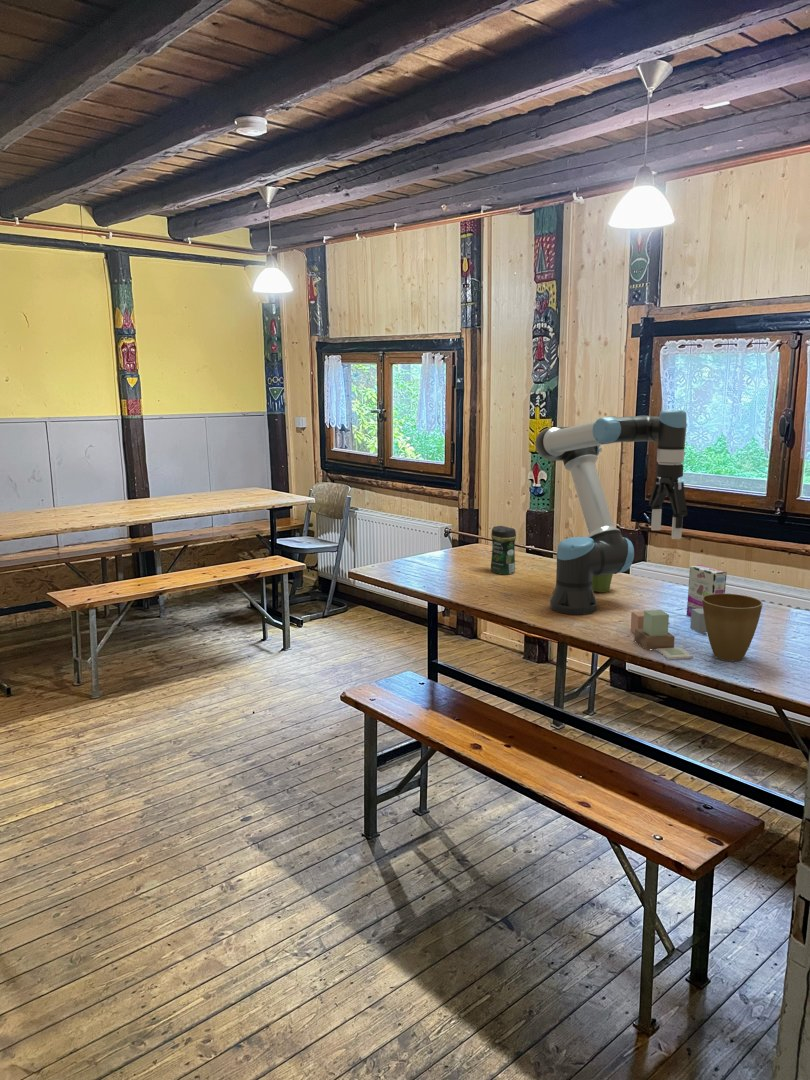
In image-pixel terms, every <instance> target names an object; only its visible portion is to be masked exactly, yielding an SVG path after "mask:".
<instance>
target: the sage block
mask: <svg viewBox="0 0 810 1080" xmlns="http://www.w3.org/2000/svg"><path fill="white" fill-rule="evenodd" d="M643 611H644V621H643V631H644V632H646V633H647V634H648V635H650V636H665V635H668V632H669V620H670V614H668V613H667V612H665V611H664V610H662V609H650V610H646V609H645V610H643Z"/></svg>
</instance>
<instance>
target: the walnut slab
mask: <svg viewBox="0 0 810 1080" xmlns="http://www.w3.org/2000/svg"><path fill="white" fill-rule="evenodd" d="M635 641H636V642H637V643H638V644H637V645H639V644H640V645H641V646H642V647H641V646H640V645H639V646H640V647H641V648H643V647H644V648H645V649H646V650H645V649H644V648H643V649H644V650H645V651H651V650H650V649H657V648H675V635H674V634H671V633H670V632H669V631H668V635H665V636H650V635H648V634H647V633H646V632H644V631H643V629H635V634H634V640H633V642H635ZM636 642H635V643H636Z"/></svg>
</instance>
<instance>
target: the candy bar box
mask: <svg viewBox="0 0 810 1080" xmlns="http://www.w3.org/2000/svg"><path fill="white" fill-rule="evenodd" d="M726 583H727V571H723V570H720V569H716V568H714V567H708V566H706V565H702V564H700V565H699V564H698V565H690V566H689V578H688V590H687V591H688V592H687V603H686V604H687V605H686V616H687V615H688V617H690V618H691V610H692V609H703V602H702V598H703V597H704V596H706V595H710V594H726V585H727V584H726Z"/></svg>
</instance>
